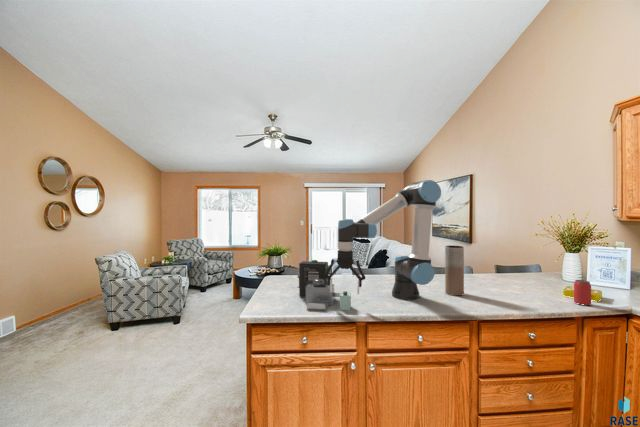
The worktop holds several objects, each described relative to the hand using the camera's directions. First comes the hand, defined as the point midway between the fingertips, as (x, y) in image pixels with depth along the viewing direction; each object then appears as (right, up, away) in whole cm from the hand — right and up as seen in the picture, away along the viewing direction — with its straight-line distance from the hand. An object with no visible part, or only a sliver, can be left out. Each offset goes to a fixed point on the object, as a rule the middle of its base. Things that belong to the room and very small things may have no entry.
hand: (344, 292), depth 144 cm
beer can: (+124, -8, +6) cm, 124 cm away
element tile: (+135, -8, +18) cm, 137 cm away
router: (-16, -8, +23) cm, 29 cm away
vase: (+67, -8, +26) cm, 72 cm away
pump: (0, -8, 0) cm, 8 cm away
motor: (-11, -8, +5) cm, 14 cm away
